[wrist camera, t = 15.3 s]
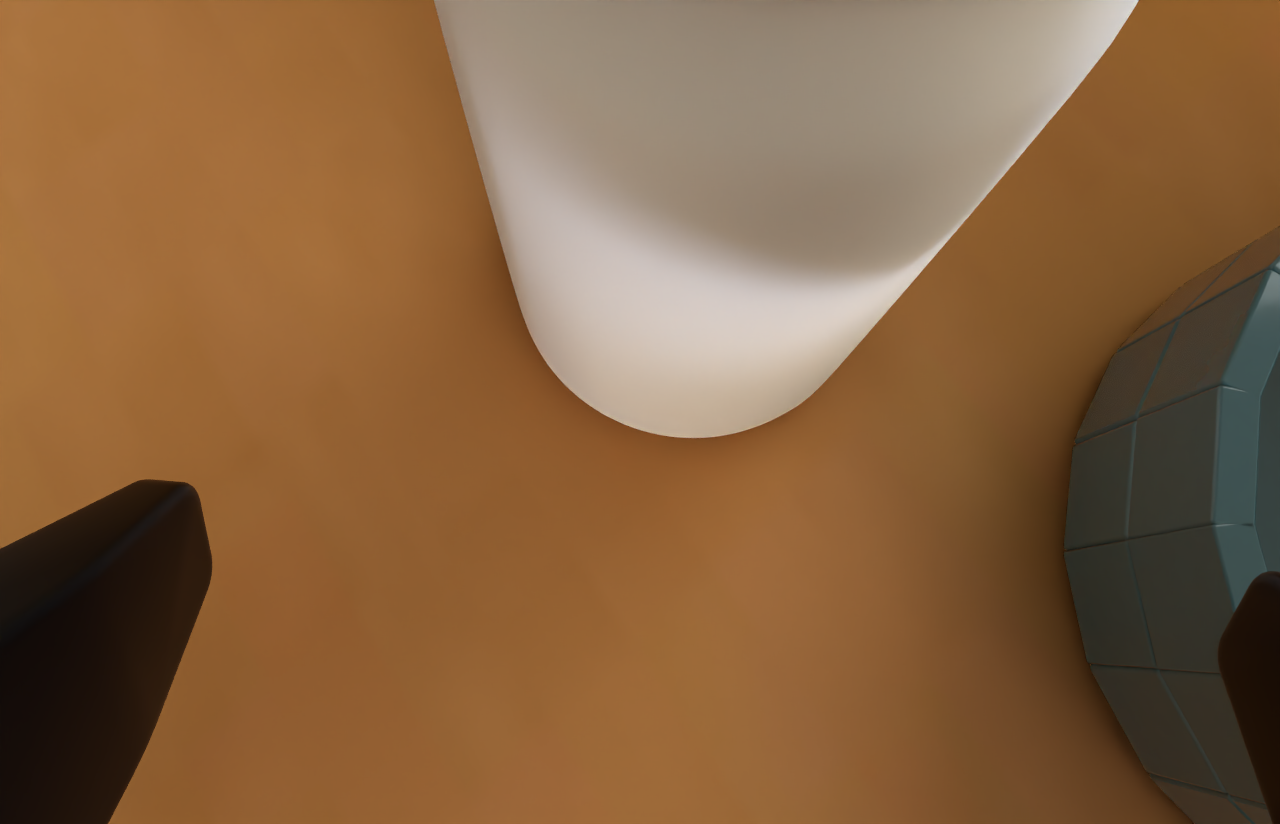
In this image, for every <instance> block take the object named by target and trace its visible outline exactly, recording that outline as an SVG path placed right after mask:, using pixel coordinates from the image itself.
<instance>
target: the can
mask: <svg viewBox="0 0 1280 824" xmlns="http://www.w3.org/2000/svg"><path fill="white" fill-rule="evenodd" d="M1138 1H1139V0H434V2H435V6H436V10H437V14H438V17H439V21H440V25H441V29H442V33H443V36H444V40H445V44H446V47H447V51H448V55H449V58H450V62H451V66H452V69H453V73H454V76H455V80H456V84H457V87H458V91H459V95H460V98H461V102H462V106H463V109H464V113H465V117H466V120H467V124H468V127H469V131H470V135H471V138H472V142H473V145H474V149H475V152H476V156H477V160H478V163H479V167H480V170H481V174H482V178H483V181H484V185H485V188H486V192H487V195H488V199H489V203H490V206H491V210H492V213H493V217H494V220H495V224H496V227H497V231H498V234H499V238H500V241H501V245H502V248H503V252H504V255H505V259H506V262H507V266H508V269H509V273H510V276H511V279H512V283H513V286H514V290H515V293H516V296H517V299H518V302H519V306H520V309H521V312H522V315H523V317H524V320H525V323H526V326H527V328H528V330H529V333H530V335H531V337H532V339H533V341H534V343H535V345H536V347H537V348H538V350H539V352H540V354H541V355H542V357H543V358H544V360H545V361H546V363H547V364H548V366H549V367H550V368H551V370H552V371H553V372H554V373H555V375H556V376H557V377H558V378H559V379H560V380H561V381H562V382H563V383H564V384H565V385H566V386H567V387H568V388H569V389H570V390H571V391H572V392H573V393H574V394H575V395H576V396H578V397H579V398H580V399H581V400H583V401H584V402H585V403H587V404H588V405H590V406H591V407H592V408H594V409H596V410H597V411H599V412H600V413H602V414H604V415H606V416H607V417H609V418H611V419H613V420H615V421H618V422H620V423H622V424H625V425H627V426H630V427H632V428H635V429H639V430H642V431H645V432H649V433H653V434H658V435H664V436H670V437H681V438H707V437H717V436H723V435H729V434H734V433H738V432H742V431H745V430H748V429H751V428H754V427H757V426H759V425H762V424H764V423H767V422H769V421H771V420H773V419H775V418H777V417H779V416H781V415H783V414H785V413H787V412H788V411H790V410H792V409H793V408H795V407H797V406H798V405H799V404H801V403H802V402H804V401H805V400H806V399H807V398H809V397H810V396H811V395H812V394H813V393H814V392H815V391H816V390H817V389H818V388H819V387H820V386H821V385H822V384H823V383H824V382H825V381H826V380H827V379H828V378H829V377H830V376H831V375H832V373H833V372H834V371H835V370H836V369H837V368H838V367H839V366H840V365H841V363H842V362H843V361H844V360H845V359H846V358H847V357H848V356H849V354H850V353H851V352H852V351H853V350H854V349H855V348H856V346H857V345H858V344H859V343H860V342H861V341H862V340H863V338H864V337H865V336H866V335H867V334H868V333H869V332H870V330H871V329H872V328H873V327H874V326H875V325H876V323H877V322H878V321H879V320H880V319H881V318H882V317H883V315H884V314H885V313H886V312H887V311H888V310H889V308H890V307H891V306H892V305H893V304H894V303H895V302H896V300H897V299H898V298H899V297H900V296H901V295H902V293H903V292H904V291H905V290H906V289H907V288H908V287H909V285H910V284H911V283H912V282H913V281H914V280H915V278H916V277H917V276H918V275H919V274H920V273H921V271H922V270H923V269H924V268H925V267H926V266H927V264H928V263H929V262H930V261H931V260H932V259H933V257H934V256H935V255H936V254H937V253H938V252H939V250H940V249H941V248H942V247H943V246H944V245H945V244H946V242H947V241H948V240H949V239H950V238H951V237H952V235H953V234H954V233H955V232H956V231H957V230H958V228H959V227H960V226H961V225H962V224H963V222H964V221H965V220H966V219H967V218H968V217H969V215H970V214H971V213H972V212H973V211H974V210H975V208H976V207H977V206H978V205H979V204H980V203H981V201H982V200H983V199H984V198H985V197H986V196H987V194H988V193H989V192H990V191H991V190H992V188H993V187H994V186H995V185H996V184H997V183H998V181H999V180H1000V179H1001V178H1002V177H1003V176H1004V174H1005V173H1006V172H1007V171H1008V170H1009V169H1010V167H1011V166H1012V165H1013V164H1014V163H1015V161H1016V160H1017V159H1018V158H1019V157H1020V155H1021V154H1022V153H1023V152H1024V151H1025V150H1026V148H1027V147H1028V146H1029V145H1030V144H1031V142H1032V141H1033V140H1034V139H1035V138H1036V136H1037V135H1038V134H1039V133H1040V132H1041V130H1042V129H1043V128H1044V127H1045V126H1046V124H1047V123H1048V122H1049V121H1050V120H1051V118H1052V117H1053V116H1054V115H1055V114H1056V113H1057V111H1058V110H1059V109H1060V108H1061V107H1062V105H1063V104H1064V103H1065V102H1066V101H1067V99H1068V98H1069V97H1070V96H1071V95H1072V93H1073V92H1074V91H1075V90H1076V88H1077V87H1078V86H1079V84H1080V83H1081V82H1082V81H1083V79H1084V78H1085V77H1086V76H1087V74H1088V73H1089V72H1090V70H1091V69H1092V68H1093V67H1094V65H1095V64H1096V63H1097V62H1098V60H1099V59H1100V58H1101V57H1102V55H1103V54H1104V53H1105V51H1106V50H1107V49H1108V47H1109V46H1110V44H1111V43H1112V42H1113V40H1114V39H1115V37H1116V36H1117V34H1118V33H1119V31H1120V30H1121V28H1122V26H1123V25H1124V23H1125V22H1126V20H1127V19H1128V17H1129V16H1130V14H1131V12H1132V11H1133V9H1134V8H1135V6H1136V4H1137V3H1138Z"/></svg>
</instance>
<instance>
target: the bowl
mask: <svg viewBox="0 0 1280 824" xmlns="http://www.w3.org/2000/svg"><path fill="white" fill-rule="evenodd" d="M1074 443H1075V445H1074V447H1073V450H1072V461H1071V472H1070V483H1069V493H1068V504H1067V515H1066V526H1065V537H1064V549H1065V550H1066V551H1065V552H1064V559H1065V563H1066V568H1067V573H1068V577H1069V582H1070V586H1071V591H1072V596H1073V600H1074V605H1075V609H1076V614H1077V619H1078V623H1079V628H1080V632H1081V637H1082V642H1083V646H1084V651H1085V655H1086V660H1087V662H1088V664H1091V666H1090V670H1091V672H1092V673H1093V675H1094V677H1095V679H1096V681H1097V683H1098V684H1099V686H1100V688H1101V690H1102V692H1103V694H1104V695H1105V697H1106V699H1107V701H1108V703H1109V705H1110V706H1111V708H1112V710H1113V712H1114V714H1115V716H1116V717H1117V719H1118V721H1119V723H1120V725H1121V727H1122V728H1123V730H1124V732H1125V734H1126V736H1127V738H1128V739H1129V741H1130V743H1131V745H1132V747H1133V749H1134V750H1135V752H1136V754H1137V756H1138V758H1139V760H1140V761H1141V763H1142V765H1143V767H1144V769H1145V771H1146V772H1148V773H1149V774H1150V775H1149V776H1150V778H1151V779H1152V780H1153V781H1154V782H1155V783H1156V784H1157V785H1158V787H1159V788H1160V789H1161V790H1162V791H1163V792H1164V793H1165V794H1166V795H1167V796H1168V797H1169V798H1170V799H1171V800H1172V801H1173V802H1174V803H1175V804H1176V805H1177V806H1178V807H1179V808H1180V809H1181V810H1182V811H1183V812H1184V813H1185V814H1186V815H1187V816H1188V817H1189V818H1190V819H1191V820H1192V821H1193V822H1194V823H1195V824H1273V823H1272V821H1271V818H1270V815H1269V813H1268V810H1267V807H1266V804H1265V801H1264V798H1263V796H1262V793H1261V790H1260V787H1259V784H1258V781H1257V778H1256V775H1255V772H1254V769H1253V766H1252V763H1251V761H1250V758H1249V755H1248V752H1247V749H1246V746H1245V743H1244V740H1243V737H1242V734H1241V731H1240V729H1239V726H1238V723H1237V720H1236V717H1235V714H1234V711H1233V708H1232V705H1231V702H1230V699H1229V696H1228V694H1227V691H1226V688H1225V685H1224V682H1223V679H1222V676H1221V673H1220V670H1219V665H1218V657H1217V656H1218V646H1219V641H1220V639H1221V636H1222V634H1223V632H1224V631H1225V629H1226V627H1227V625H1228V623H1229V622H1230V620H1231V618H1232V616H1233V614H1234V612H1235V611H1236V609H1237V607H1238V605H1239V603H1240V601H1241V600H1242V598H1243V596H1244V594H1245V592H1246V591H1247V589H1248V587H1249V585H1250V584H1251V582H1252V581H1253V579H1255V578H1256V577H1257V576H1259V575H1260V574H1261V573H1265V572H1269V571H1277V572H1280V226H1278V227H1277V228H1275V229H1273V230H1272V231H1270V232H1269V233H1267V234H1265V235H1264V236H1262V237H1261V238H1260V239H1257V240H1255V241H1254V242H1252V243H1250V244H1249V245H1247V246H1245V247H1244V248H1242V249H1240V250H1239V251H1237V252H1235V253H1234V254H1232V255H1231V256H1229V257H1227V258H1226V259H1224V260H1222V261H1221V262H1219V263H1217V264H1216V265H1214V266H1212V267H1211V268H1209V269H1207V270H1206V271H1204V272H1203V273H1201V274H1199V275H1198V276H1196V277H1194V278H1193V279H1191V280H1189V281H1188V282H1186V283H1184V285H1182V286H1181V287H1179V288H1178V289H1177V290H1176V291H1175V292H1174V293H1173V294H1172V295H1171V296H1170V297H1169V298H1168V299H1167V300H1166V301H1165V302H1164V303H1163V304H1162V305H1161V306H1160V307H1159V308H1158V309H1157V310H1156V311H1155V312H1154V313H1153V314H1152V315H1151V316H1150V317H1149V318H1148V319H1147V320H1146V321H1145V322H1144V323H1143V324H1142V325H1141V326H1140V327H1139V328H1138V329H1137V330H1136V331H1135V332H1134V333H1133V334H1132V335H1131V336H1130V337H1129V338H1128V339H1127V340H1126V341H1125V342H1124V343H1123V344H1122V345H1121V346H1120V347H1119V348H1118V350H1117V353H1116V354H1114V355H1113V357H1112V359H1111V361H1110V363H1109V365H1108V368H1107V370H1106V372H1105V374H1104V376H1103V379H1102V381H1101V383H1100V385H1099V387H1098V389H1097V392H1096V394H1095V396H1094V398H1093V400H1092V403H1091V405H1090V407H1089V409H1088V411H1087V414H1086V416H1085V418H1084V420H1083V422H1082V425H1081V427H1080V429H1079V431H1078V433H1077V435H1076V438H1075V442H1074Z"/></svg>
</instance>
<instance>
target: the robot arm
mask: <svg viewBox="0 0 1280 824" xmlns="http://www.w3.org/2000/svg"><path fill="white" fill-rule="evenodd" d="M211 575H212V556H211V551H210V546H209V541H208V536H207V531H206V527H205V522H204V517H203V512H202V507H201V502H200V499H199V496H198V493H197V491H196V490H195V488H194V487H193V486H191V485H190V484H188V483H185V482H175V481H163V480H139V481H137V482H134V483H132V484H130V485H128V486H126V487H124V488H122V489H120V490H118V491H116V492H114V493H112V494H110V495H108V496H106V497H104V498H102V499H100V500H98V501H96V502H94V503H92V504H90V505H88V506H86V507H84V508H82V509H80V510H78V511H76V512H74V513H72V514H70V515H68V516H66V517H64V518H62V519H60V520H58V521H56V522H54V523H52V524H50V525H48V526H46V527H44V528H42V529H40V530H38V531H36V532H34V533H32V534H30V535H28V536H26V537H23V538H21V539H19V540H17V541H15V542H13V543H11V544H9V545H7V546H5V547H3V548H1V549H0V824H108V822H109V821H110V819H111V817H112V815H113V813H114V811H115V809H116V807H117V805H118V803H119V801H120V799H121V797H122V795H123V793H124V792H125V790H126V788H127V786H128V784H129V782H130V780H131V778H132V776H133V774H134V772H135V770H136V768H137V766H138V764H139V762H140V760H141V758H142V755H143V753H144V751H145V749H146V747H147V745H148V742H149V740H150V738H151V735H152V733H153V730H154V728H155V726H156V723H157V721H158V718H159V716H160V713H161V710H162V708H163V705H164V703H165V700H166V697H167V695H168V692H169V690H170V687H171V684H172V682H173V679H174V676H175V674H176V671H177V669H178V666H179V663H180V661H181V658H182V656H183V653H184V650H185V648H186V645H187V643H188V640H189V637H190V635H191V632H192V629H193V627H194V624H195V622H196V619H197V616H198V614H199V611H200V609H201V606H202V603H203V601H204V598H205V595H206V593H207V590H208V587H209V584H210V580H211ZM1217 657H1218V665H1219V670H1220V673H1221V676H1222V679H1223V682H1224V685H1225V688H1226V691H1227V694H1228V696H1229V699H1230V702H1231V705H1232V708H1233V711H1234V714H1235V717H1236V720H1237V723H1238V726H1239V729H1240V731H1241V734H1242V737H1243V740H1244V743H1245V746H1246V749H1247V752H1248V755H1249V758H1250V761H1251V763H1252V766H1253V769H1254V772H1255V775H1256V778H1257V781H1258V784H1259V787H1260V790H1261V793H1262V796H1263V798H1264V801H1265V804H1266V807H1267V810H1268V813H1269V815H1270V818H1271V821H1272V823H1273V824H1280V572H1277V571H1269V572H1265V573H1261V574H1260V575H1259V576H1257V577H1256V578H1255V579H1253V581H1252V582H1251V584H1250V585H1249V587H1248V589H1247V591H1246V592H1245V594H1244V596H1243V598H1242V600H1241V601H1240V603H1239V605H1238V607H1237V609H1236V611H1235V612H1234V614H1233V616H1232V618H1231V620H1230V622H1229V623H1228V625H1227V627H1226V629H1225V631H1224V632H1223V634H1222V636H1221V639H1220V641H1219V646H1218V656H1217Z"/></svg>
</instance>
